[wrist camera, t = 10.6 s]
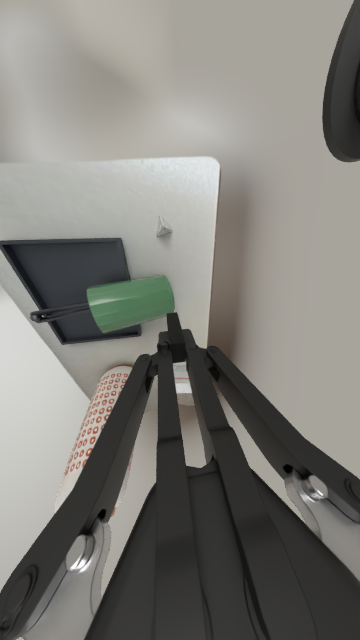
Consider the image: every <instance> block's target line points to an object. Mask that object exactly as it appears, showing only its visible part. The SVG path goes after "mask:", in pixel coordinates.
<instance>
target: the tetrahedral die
mask: <svg viewBox="0 0 360 640" xmlns="http://www.w3.org/2000/svg"><path fill="white" fill-rule="evenodd" d="M171 231H173V230H172V229H171V228H170V227H169V226H168V225H167V223H166V222H165V221H164V220H163V219H162V218H161V217H160V216H159V223H158V231H157V236H160V235H163V234H166V233H169V232H171Z"/></svg>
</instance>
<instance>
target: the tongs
mask: <svg viewBox="0 0 360 640" xmlns="http://www.w3.org/2000/svg"><path fill="white" fill-rule="evenodd" d="M85 306H89V303H88V301H86V302H81V303H76V304H71V305H65V306H60V307H55V308H50V309H45V310H40V311H35V312H31V313H30V315H31V316H30V319H31V320H32V321H35V322H36V323H42V322H47V321H51V320H56V319H61V318H65V317H70V316H74V315H79V314H84V313H88V312H91V310H90V308H86V309H81V310H76V311H71V312H66V313H62V314H57V315H52V316H47V317H42V316H41V315H45V314H50V313H55V312H60V311H65V310H70V309H75V308H80V307H85Z"/></svg>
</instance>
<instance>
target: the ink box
mask: <svg viewBox="0 0 360 640" xmlns="http://www.w3.org/2000/svg"><path fill="white" fill-rule="evenodd" d="M173 369H174V377H175V386H176V393H192V390H191V386H190V381H189V377H188V373H187V371H186V360H185V362H180V363H173Z"/></svg>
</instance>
